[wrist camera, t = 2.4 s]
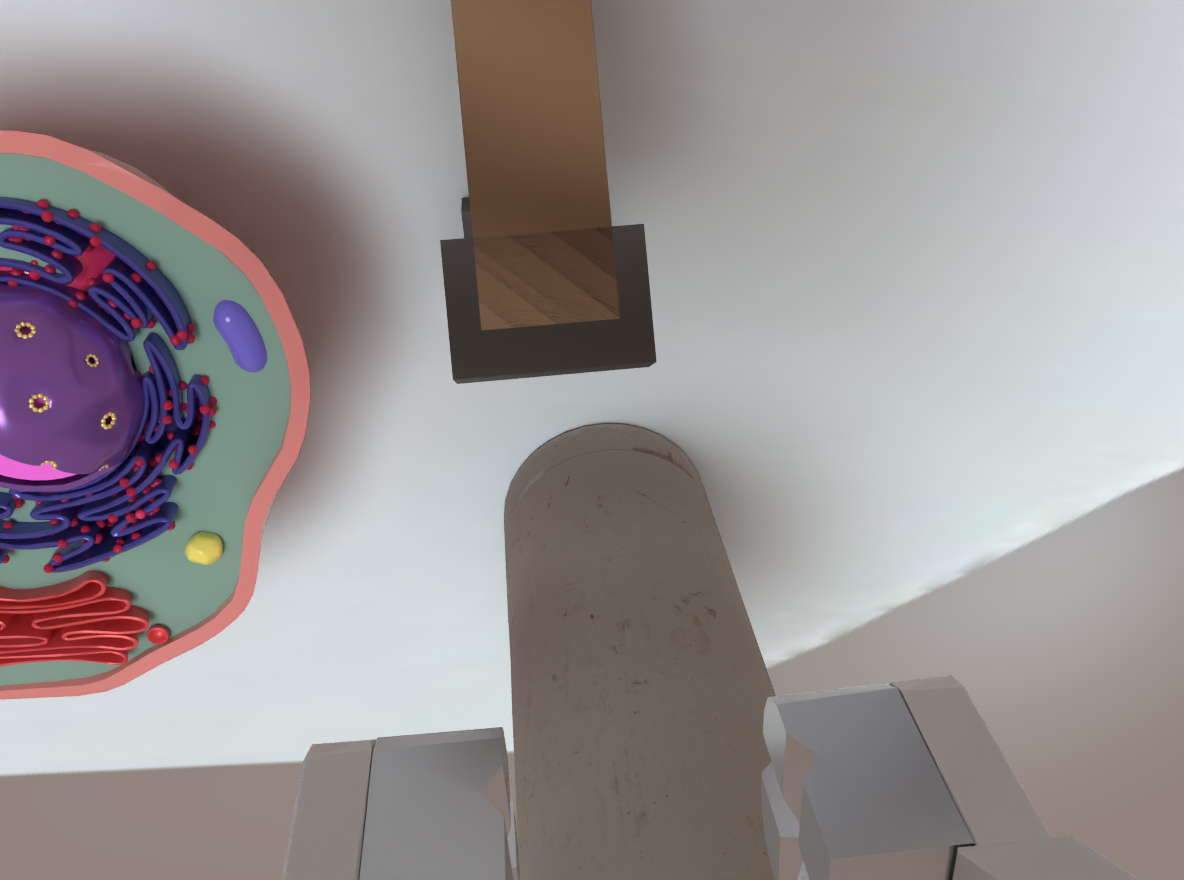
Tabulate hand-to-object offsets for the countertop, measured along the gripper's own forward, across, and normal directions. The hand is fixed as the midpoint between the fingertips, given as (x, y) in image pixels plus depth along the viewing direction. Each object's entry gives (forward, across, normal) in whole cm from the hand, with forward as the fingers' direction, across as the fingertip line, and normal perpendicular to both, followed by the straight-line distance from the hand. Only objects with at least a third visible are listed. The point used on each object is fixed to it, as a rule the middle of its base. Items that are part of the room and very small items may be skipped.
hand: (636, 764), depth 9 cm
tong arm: (+21, 0, -5) cm, 22 cm away
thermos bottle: (+29, -2, +17) cm, 34 cm away
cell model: (+29, +16, +8) cm, 34 cm away
